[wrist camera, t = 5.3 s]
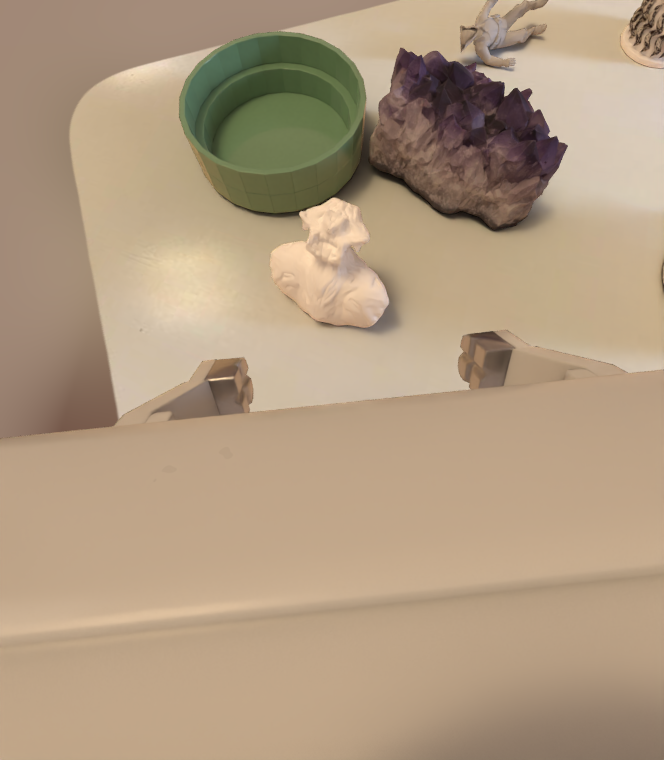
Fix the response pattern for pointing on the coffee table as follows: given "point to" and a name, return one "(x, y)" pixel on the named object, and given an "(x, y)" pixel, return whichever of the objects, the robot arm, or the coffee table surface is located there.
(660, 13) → the decorative candle
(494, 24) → the grey figurine
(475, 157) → the geode
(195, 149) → the bowl
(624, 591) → the robot arm
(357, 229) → the bust
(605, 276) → the coffee table surface
